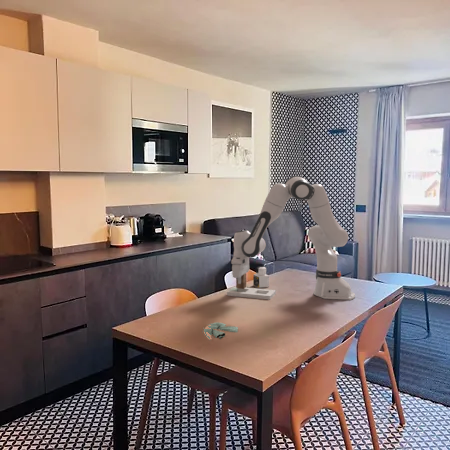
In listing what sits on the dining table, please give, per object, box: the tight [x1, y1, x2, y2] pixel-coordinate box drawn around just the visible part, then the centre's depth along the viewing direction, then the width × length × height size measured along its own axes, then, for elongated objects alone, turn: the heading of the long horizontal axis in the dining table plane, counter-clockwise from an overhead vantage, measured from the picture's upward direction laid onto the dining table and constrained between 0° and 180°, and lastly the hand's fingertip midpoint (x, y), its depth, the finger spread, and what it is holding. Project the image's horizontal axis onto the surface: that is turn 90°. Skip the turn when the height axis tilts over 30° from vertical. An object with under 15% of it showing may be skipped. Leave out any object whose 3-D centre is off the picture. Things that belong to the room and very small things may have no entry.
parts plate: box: [226, 286, 277, 301], centre depth 239 cm, size 25×13×2 cm, turn 69°
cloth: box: [203, 322, 239, 340], centre depth 180 cm, size 20×22×2 cm
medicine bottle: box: [252, 266, 270, 289], centre depth 257 cm, size 7×7×12 cm
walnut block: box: [235, 273, 247, 289], centre depth 240 cm, size 4×4×8 cm
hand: (241, 282), depth 240 cm, fingers closed on walnut block, 4 cm apart
